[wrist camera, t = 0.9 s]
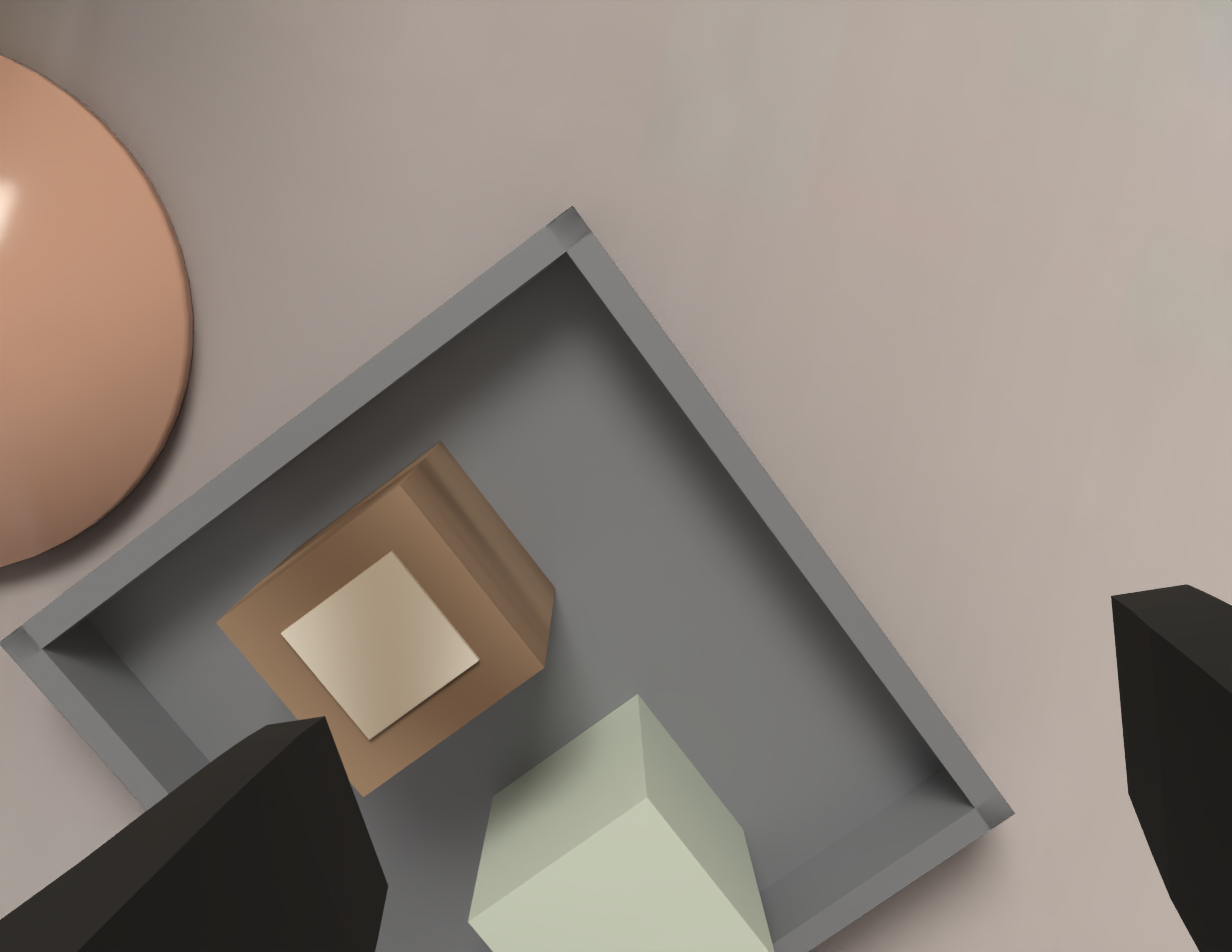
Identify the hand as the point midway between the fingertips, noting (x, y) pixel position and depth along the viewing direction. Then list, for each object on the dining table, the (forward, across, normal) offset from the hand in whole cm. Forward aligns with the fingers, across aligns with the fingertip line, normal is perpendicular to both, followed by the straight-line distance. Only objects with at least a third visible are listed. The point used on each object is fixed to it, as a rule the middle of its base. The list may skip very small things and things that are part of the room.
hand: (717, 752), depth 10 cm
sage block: (+12, +4, +10) cm, 16 cm away
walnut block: (+13, +7, +3) cm, 15 cm away
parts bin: (+13, +6, +7) cm, 16 cm away
